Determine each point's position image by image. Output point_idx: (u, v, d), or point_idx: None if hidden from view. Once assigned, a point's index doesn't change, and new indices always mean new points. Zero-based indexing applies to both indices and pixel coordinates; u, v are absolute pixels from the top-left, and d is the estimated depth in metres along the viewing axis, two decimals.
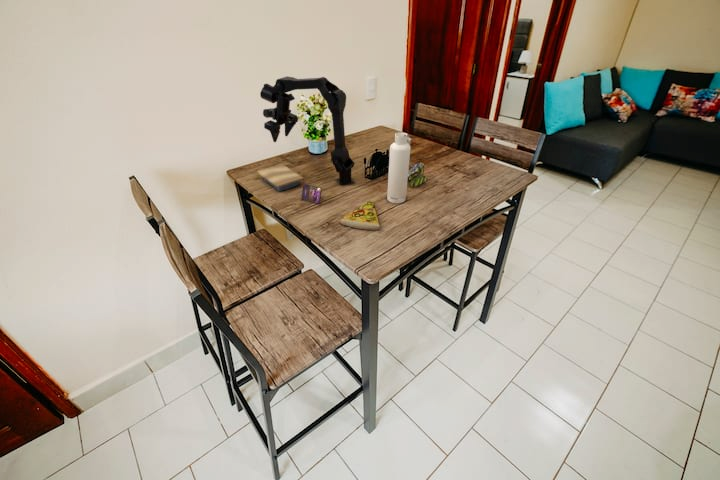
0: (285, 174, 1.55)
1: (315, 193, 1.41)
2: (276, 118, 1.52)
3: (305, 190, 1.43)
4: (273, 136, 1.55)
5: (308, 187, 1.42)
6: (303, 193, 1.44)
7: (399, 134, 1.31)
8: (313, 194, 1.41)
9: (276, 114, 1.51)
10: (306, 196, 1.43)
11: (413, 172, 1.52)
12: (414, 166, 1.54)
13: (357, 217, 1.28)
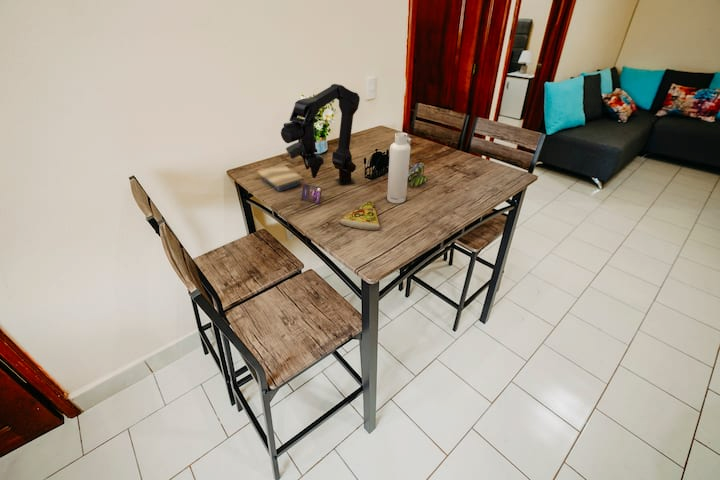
0: (285, 174, 1.55)
1: (315, 193, 1.41)
2: (307, 151, 1.29)
3: (305, 190, 1.43)
4: (314, 171, 1.32)
5: (308, 187, 1.42)
6: (303, 193, 1.44)
7: (399, 134, 1.31)
8: (313, 194, 1.41)
9: (306, 147, 1.28)
10: (306, 196, 1.43)
11: (413, 172, 1.52)
12: (414, 166, 1.54)
13: (357, 217, 1.28)
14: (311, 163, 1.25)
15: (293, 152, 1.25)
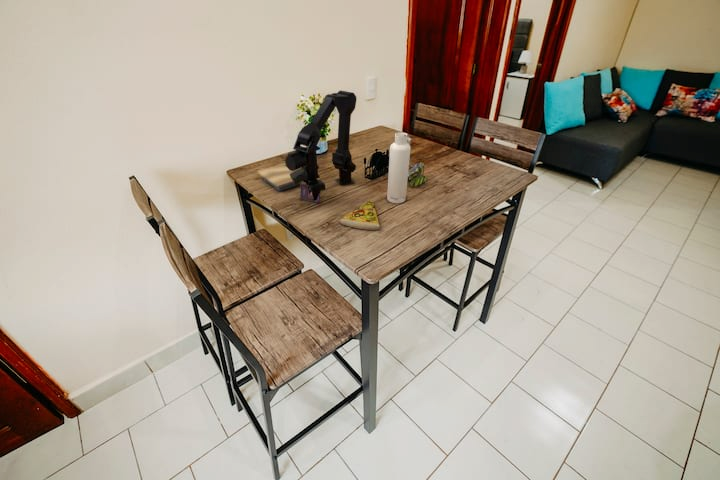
0: (285, 174, 1.55)
1: None
2: (310, 177, 1.35)
3: (303, 190, 1.43)
4: (315, 194, 1.39)
5: (306, 187, 1.42)
6: (301, 193, 1.44)
7: (399, 134, 1.31)
8: None
9: (309, 173, 1.34)
10: (305, 195, 1.43)
11: (413, 172, 1.52)
12: (414, 166, 1.54)
13: (357, 217, 1.28)
14: (314, 189, 1.31)
15: (296, 179, 1.32)
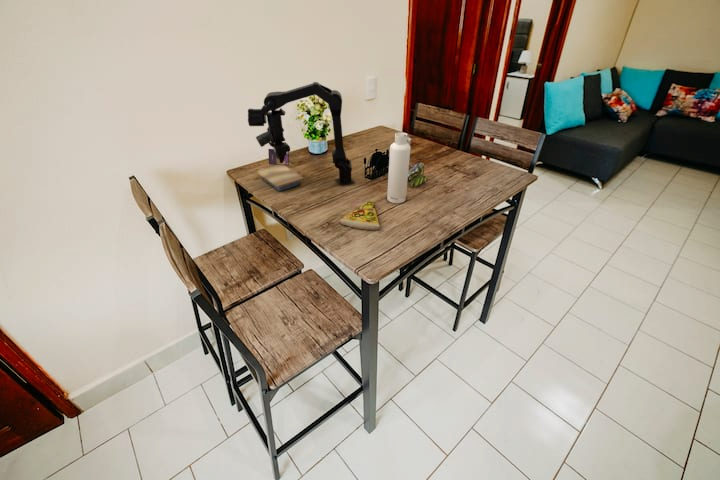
0: (285, 174, 1.55)
1: None
2: (275, 140, 1.41)
3: (271, 155, 1.48)
4: (281, 157, 1.45)
5: None
6: (270, 158, 1.48)
7: (399, 134, 1.31)
8: None
9: (274, 136, 1.40)
10: (274, 160, 1.49)
11: (413, 172, 1.52)
12: (414, 166, 1.54)
13: (357, 217, 1.28)
14: (278, 150, 1.37)
15: (262, 140, 1.37)
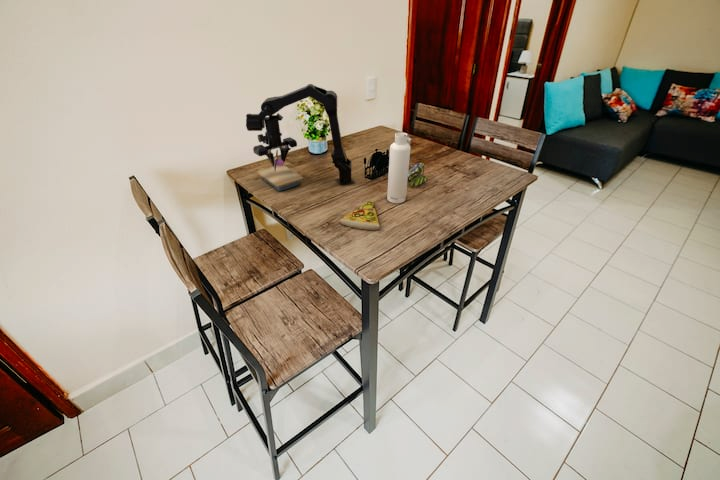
0: (285, 174, 1.55)
1: (276, 161, 1.50)
2: (268, 142, 1.46)
3: None
4: (270, 160, 1.49)
5: None
6: None
7: (399, 134, 1.31)
8: (275, 161, 1.51)
9: (267, 138, 1.45)
10: (275, 161, 1.54)
11: (413, 172, 1.52)
12: (414, 166, 1.54)
13: (357, 217, 1.28)
14: (254, 150, 1.44)
15: (258, 137, 1.48)
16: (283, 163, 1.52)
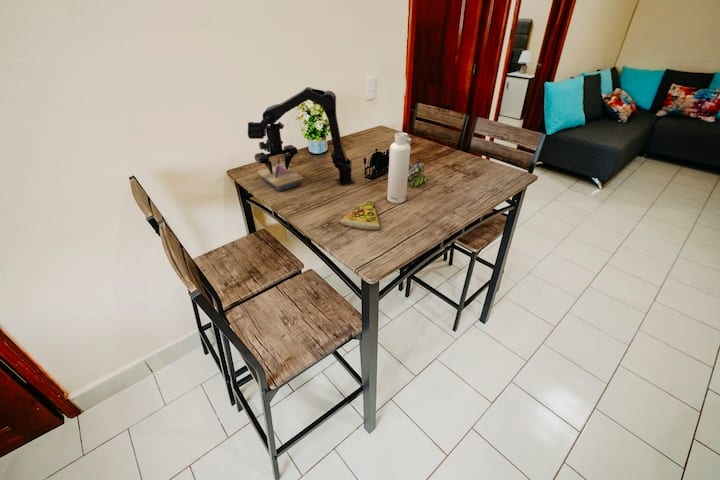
0: (285, 174, 1.55)
1: (277, 168, 1.52)
2: (269, 150, 1.48)
3: (277, 163, 1.56)
4: (268, 168, 1.50)
5: None
6: None
7: (399, 134, 1.31)
8: (277, 168, 1.53)
9: (268, 146, 1.47)
10: None
11: (413, 172, 1.52)
12: (414, 166, 1.54)
13: (357, 217, 1.28)
14: (255, 158, 1.46)
15: (259, 145, 1.50)
16: (284, 170, 1.54)
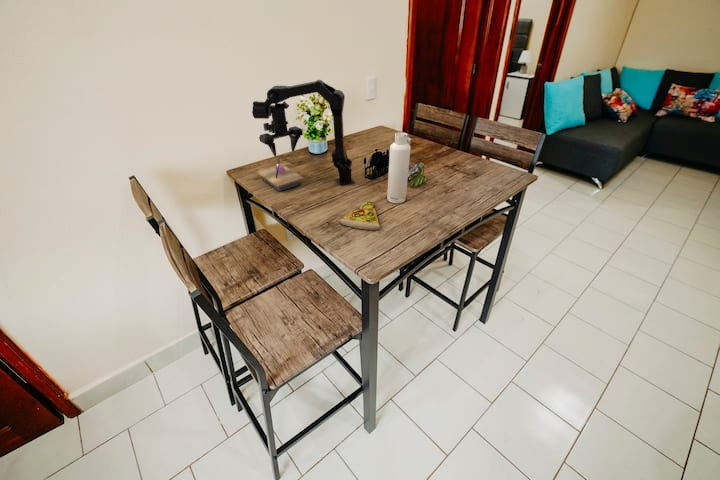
0: (285, 174, 1.55)
1: (277, 168, 1.52)
2: (274, 131, 1.46)
3: (277, 163, 1.56)
4: (271, 150, 1.48)
5: None
6: None
7: (399, 134, 1.31)
8: (277, 168, 1.53)
9: (273, 127, 1.45)
10: None
11: (413, 172, 1.52)
12: (414, 166, 1.54)
13: (357, 217, 1.28)
14: (260, 139, 1.44)
15: None
16: (284, 170, 1.54)
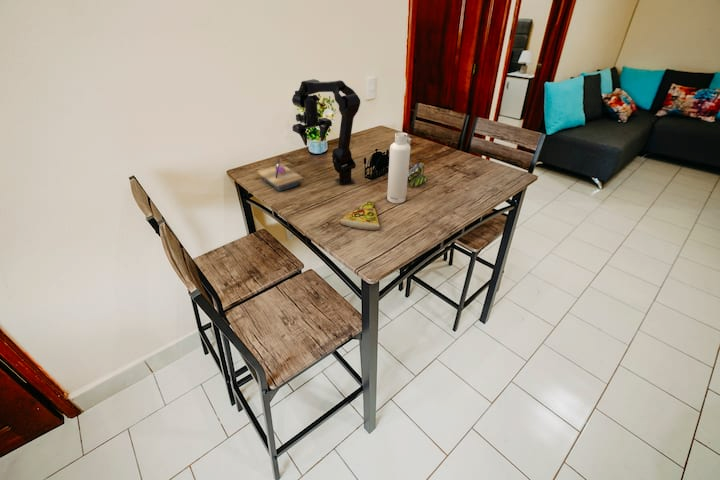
0: (285, 174, 1.55)
1: (277, 168, 1.52)
2: (306, 121, 1.56)
3: (277, 163, 1.56)
4: (303, 139, 1.58)
5: None
6: None
7: (399, 134, 1.31)
8: (277, 168, 1.53)
9: (305, 117, 1.55)
10: None
11: (413, 172, 1.52)
12: (414, 166, 1.54)
13: (357, 217, 1.28)
14: (293, 129, 1.54)
15: (296, 117, 1.58)
16: (284, 170, 1.54)
